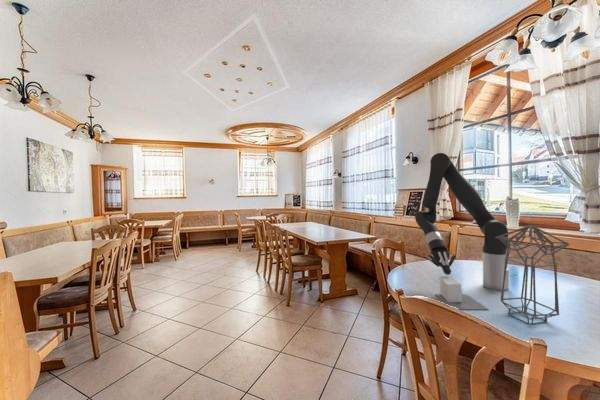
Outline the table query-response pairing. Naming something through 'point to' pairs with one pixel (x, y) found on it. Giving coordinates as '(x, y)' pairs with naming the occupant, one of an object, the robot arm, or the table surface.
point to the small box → (450, 289)
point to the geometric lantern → (539, 234)
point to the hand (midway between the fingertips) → (448, 274)
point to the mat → (464, 303)
